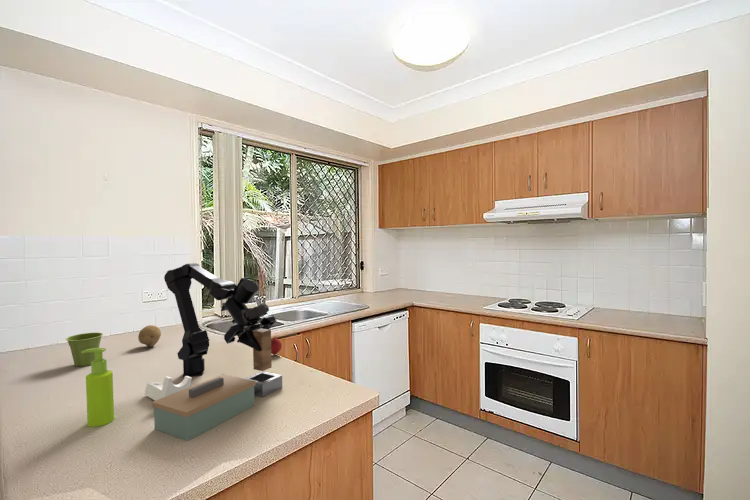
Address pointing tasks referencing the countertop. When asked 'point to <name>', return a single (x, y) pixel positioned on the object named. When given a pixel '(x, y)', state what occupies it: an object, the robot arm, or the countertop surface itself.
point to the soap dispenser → (99, 391)
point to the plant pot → (84, 347)
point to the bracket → (166, 387)
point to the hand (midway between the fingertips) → (265, 348)
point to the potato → (149, 335)
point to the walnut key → (264, 356)
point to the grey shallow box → (266, 383)
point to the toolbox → (203, 406)
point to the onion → (275, 345)
